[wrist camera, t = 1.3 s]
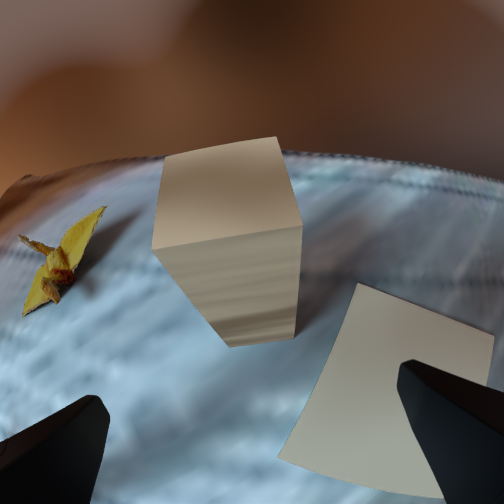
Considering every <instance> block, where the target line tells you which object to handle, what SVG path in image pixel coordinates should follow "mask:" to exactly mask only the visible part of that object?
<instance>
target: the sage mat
mask: <svg viewBox="0 0 504 504" xmlns="http://www.w3.org/2000/svg"><path fill="white" fill-rule="evenodd" d="M494 338H495V336H493V335H490V334H488V333H485V332H483V331H480V330H478V329H475V328H473V327H470V326H468V325H465V324H463V323H460V322H457V321H455V320H452V319H450V318H447V317H445V316H442V315H440V314H437V313H435V312H432V311H430V310H427V309H424V308H422V307H419V306H417V305H414V304H412V303H409V302H406V301H404V300H401V299H399V298H396V297H394V296H391V295H388V294H386V293H383V292H381V291H378V290H375V289H373V288H370V287H368V286H365V285H362V284H360V283H357V286H356V288H355V291H354V294H353V297H352V300H351V302H350V305H349V308H348V310H347V313H346V316H345V318H344V321H343V323H342V326H341V328H340V331H339V333H338V336H337V338H336V341H335V343H334V345H333V348H332V350H331V352H330V355H329V357H328V359H327V361H326V364H325V366H324V368H323V370H322V372H321V375H320V377H319V379H318V381H317V383H316V385H315V387H314V389H313V391H312V393H311V395H310V398H309V400H308V402H307V403H306V405H305V407H304V409H303V411H302V413H301V415H300V417H299V419H298V421H297V423H296V424H295V426H294V428H293V430H292V432H291V434H290V435H289V437H288V439H287V441H286V442H285V444H284V446H283V448H282V449H281V451H280V453H279V454H278V456H277V458H279V459H282V460H284V461H287V462H289V463H292V464H294V465H297V466H299V467H302V468H305V469H308V470H311V471H313V472H316V473H319V474H322V475H325V476H329V477H332V478H335V479H338V480H342V481H345V482H349V483H353V484H357V485H361V486H365V487H369V488H373V489H378V490H383V491H388V492H394V493H399V494H406V495H413V496H421V497H430V498H444V496H443V494H442V492H441V490H440V487H439V485H438V483H437V481H436V479H435V476H434V474H433V472H432V470H431V468H430V466H429V464H428V462H427V460H426V458H425V456H424V453H423V451H422V449H421V447H420V445H419V443H418V441H417V439H416V437H415V435H414V433H413V431H412V429H411V426H410V423H409V421H408V418H407V415H406V412H405V410H404V407H403V404H402V402H401V399H400V397H399V394H398V391H397V378H398V372H399V366H400V364H401V363H402V362H405V361H408V360H411V359H415V360H418V361H420V362H423V363H425V364H428V365H430V366H433V367H436V368H438V369H441V370H443V371H446V372H449V373H451V374H454V375H456V376H459V377H462V378H464V379H467V380H470V381H473V382H475V383H478V384H481V385H484V386H486V383H487V379H488V374H489V369H490V364H491V358H492V352H493V345H494Z"/></svg>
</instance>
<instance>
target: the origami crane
mask: <svg viewBox="0 0 504 504" xmlns="http://www.w3.org/2000/svg"><path fill="white" fill-rule="evenodd" d="M107 206H108V205H107ZM107 206H105V207H104V206H103V207H100V208H99V209H97V210H95V211H93V212H91V213H90V214H89V215H86V216H85V217H83V218H81V219H79V220H78V221H77V222H75V223H74V224H73V225H72V226H71V227H70V228H69V229H68V230H67V231H66V233H65V235H64V236H63V237H62V239H61V242H60V246H59V247H58V248H56V249H55V248H53V247H48V246H45V245H44V244H43V243H40V242H36V241H31V242H29V241H28V240H29V238H27V237H25V236H21V235H18V239H19V240H20V241H21V242H23V243H24V244H26V245H27V246H29V247H30V248H32V249H33V250H35V251H37V252H41V253H43V254H44V255H46V256H47V260H46V264H45V265H41V267H40V268H39V269H38V271H37V273H36V275H35V278H34V281H33V284H32V286H31V289H30V292H29V294H28V297H27V300H26V302H25V304H24V310H23V313H22V318H23V316H25V315H26V314H27V313H29V312H31V310H34V309H36V307H37V306H39V305H41V304H43V303H46V302H48V301H49V300H51V299H52V300H53V301H55V304H56V305H57V304H58V303H59V302H60V295H59V292H58V290H59V289H60V287H59V286H58V285H57V284H59V285H60V286H61V283H63V284H68V285H67V287H69V286H70V285H72V283H73V282H75V281H76V276H75V275H74V269H75V268H76V267H77V266H78V263H79V262H80V261H81V258H82V255H83V256H84V254H85V253H84V249H85V247H86V245H87V244H88V243H89V239H90V237H91V236H92V234H93V233H94V230H95V227H96V226H97V225H98V223H99V220H100V218H101V217H102V214H103V212H104V210H105V208H106V207H107Z"/></svg>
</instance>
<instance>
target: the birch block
mask: <svg viewBox="0 0 504 504" xmlns="http://www.w3.org/2000/svg"><path fill="white" fill-rule="evenodd" d="M302 232H303V224H302V220H301V217H300V213H299V210H298V206H297V203H296V199H295V196H294V192H293V189H292V186H291V182H290V179H289V176H288V172H287V169H286V166H285V163H284V159H283V156H282V153H281V150H280V147H279V144H278V141H277V138H276V137H269V138H262V139H255V140H248V141H242V142H236V143H230V144H224V145H219V146H214V147H209V148H204V149H199V150H194V151H189V152H185V153H180V154H176V155H172V156H168V157H165V160H164V166H163V171H162V177H161V183H160V189H159V195H158V202H157V209H156V216H155V224H154V232H153V241H152V251H153V253H154V254H155V255H156V257H157V258H158V259H159V261H160V262H161V263H162V265H163V266H164V267H165V269H166V270H167V271H168V273H169V274H170V275H171V277H172V278H173V279H174V281H175V282H176V283H177V285H178V286H179V287H180V288H181V290H182V291H183V292H184V294H185V295H186V296H187V297H188V299H189V300H190V301H191V302H192V304H193V305H194V306H195V307H196V309H197V310H198V311H199V312H200V313H201V315H202V316H203V317H204V318H205V320H206V321H207V322H208V323H209V324H210V326H211V327H212V328H213V329H214V330H215V331H216V333H217V334H218V335H219V336H220V337H221V338H222V340H223V341H224V342H225V343H226V344H227V345H228V347H237V346H246V345H253V344H261V343H268V342H274V341H281V340H287V339H293V338H294V333H295V323H296V313H297V302H298V290H299V278H300V264H301V249H302Z"/></svg>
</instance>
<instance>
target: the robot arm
mask: <svg viewBox="0 0 504 504" xmlns="http://www.w3.org/2000/svg"><path fill="white" fill-rule="evenodd" d="M397 391H398V394H399V397H400V399H401V402H402V404H403V407H404V410H405V412H406V415H407V418H408V421H409V423H410V426H411V429H412V431H413V433H414V435H415V437H416V439H417V441H418V443H419V445H420V447H421V449H422V451H423V453H424V456H425V458H426V460H427V462H428V464H429V466H430V468H431V470H432V472H433V474H434V476H435V479H436V481H437V483H438V485H439V487H440V490H441V492H442V494H443V496H444V499H445V501H446V503H447V504H504V392H501V391H498V390H495V389H492V388H489V387H486V386H484V385H481V384H478V383H475V382H473V381H470V380H467V379H464V378H462V377H459V376H456V375H454V374H451V373H449V372H446V371H443V370H441V369H438V368H436V367H433V366H430V365H428V364H425V363H423V362H420V361H418V360H415V359H411V360H408V361H405V362H402V363H401V364H400V366H399V372H398V378H397ZM109 424H110V415H109V412H108V411H107V409H106V407H105V406H104V404H103V402H102V400H101V399H100V397H98V396H96V395H86V396H84V397H82V398H80V399H79V400H77V401H75V402H73V403H72V404H70V405H68V406H66V407H65V408H63V409H61V410H59V411H57V412H56V413H54V414H52V415H50V416H49V417H47V418H45V419H43V420H41V421H39V422H38V423H36V424H34V425H32V426H30V427H28V428H26V429H25V430H23V431H21V432H19V433H17V434H15V435H13V436H11V437H10V438H7V439H5V440H4V441H2V442H0V504H90V501H91V497H92V493H93V490H94V486H95V482H96V479H97V475H98V472H99V468H100V465H101V462H102V458H103V453H104V448H105V443H106V438H107V433H108V429H109Z"/></svg>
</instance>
